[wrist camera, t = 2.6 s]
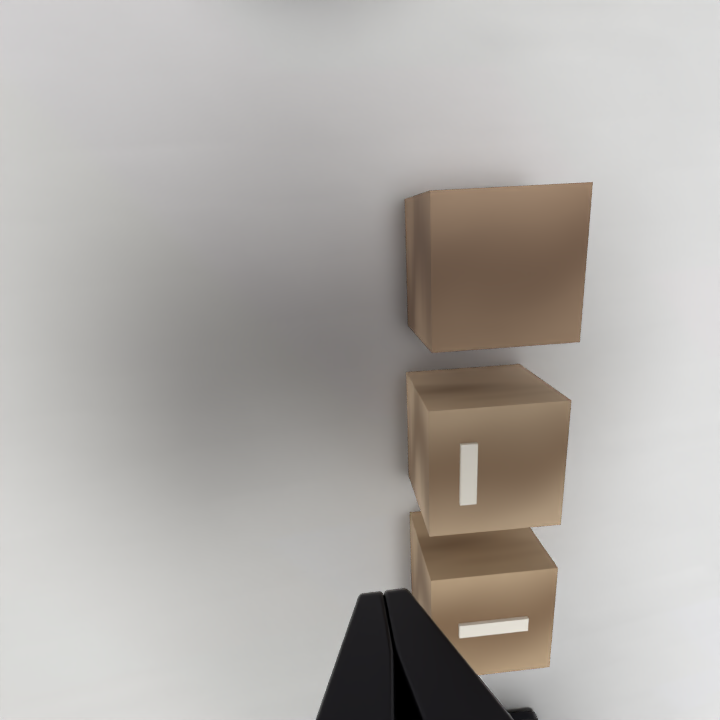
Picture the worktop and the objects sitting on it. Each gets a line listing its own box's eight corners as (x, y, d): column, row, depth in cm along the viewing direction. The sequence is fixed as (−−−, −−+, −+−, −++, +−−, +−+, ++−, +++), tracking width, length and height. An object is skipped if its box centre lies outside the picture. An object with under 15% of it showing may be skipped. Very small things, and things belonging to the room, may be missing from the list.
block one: (510, 586, 24) (554, 669, 19) (411, 596, 23) (432, 683, 19) (515, 501, 22) (563, 570, 18) (409, 511, 22) (431, 583, 18)
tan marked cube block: (516, 464, 22) (566, 526, 17) (408, 474, 21) (430, 538, 17) (521, 363, 20) (577, 401, 16) (406, 371, 20) (429, 412, 16)
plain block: (523, 316, 20) (579, 342, 15) (407, 324, 19) (432, 352, 15) (529, 192, 18) (592, 182, 14) (404, 199, 18) (430, 190, 14)
